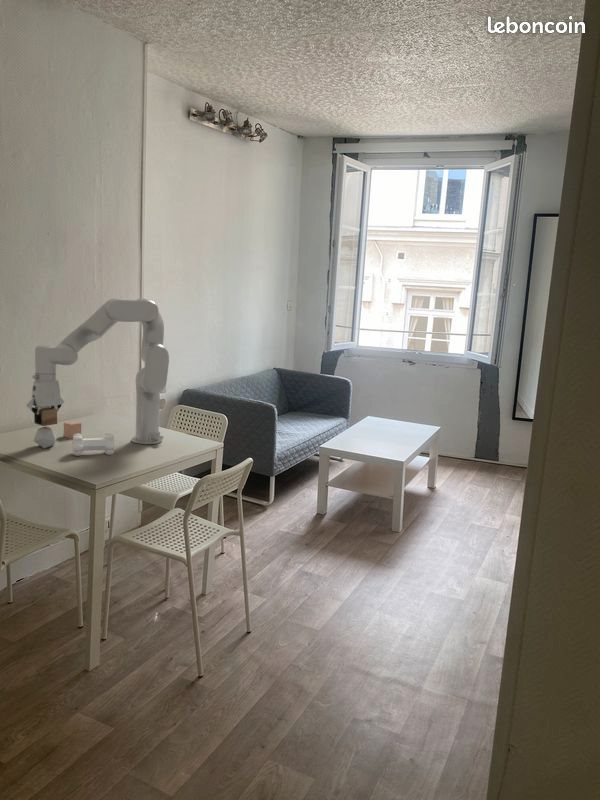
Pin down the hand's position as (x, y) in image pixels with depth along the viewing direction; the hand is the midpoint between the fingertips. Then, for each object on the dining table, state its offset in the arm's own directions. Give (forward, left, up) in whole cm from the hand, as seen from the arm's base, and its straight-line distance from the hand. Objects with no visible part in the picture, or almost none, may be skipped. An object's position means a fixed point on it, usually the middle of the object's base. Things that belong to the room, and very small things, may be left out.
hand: (45, 421), depth 246 cm
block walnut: (0, 0, -1) cm, 1 cm away
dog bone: (-20, -7, -10) cm, 24 cm away
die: (0, 0, -10) cm, 10 cm away
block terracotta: (+7, -17, -10) cm, 21 cm away
